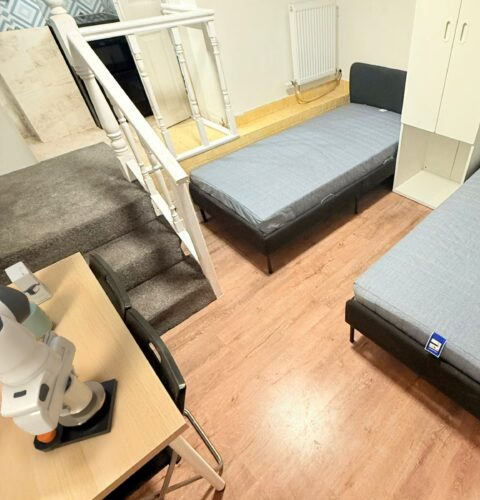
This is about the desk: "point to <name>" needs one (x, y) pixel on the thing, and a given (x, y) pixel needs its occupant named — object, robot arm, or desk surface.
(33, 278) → the ink box
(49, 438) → the tare button
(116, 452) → the desk surface
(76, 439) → the scale
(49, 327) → the cup
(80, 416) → the scale pan
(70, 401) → the white cup
